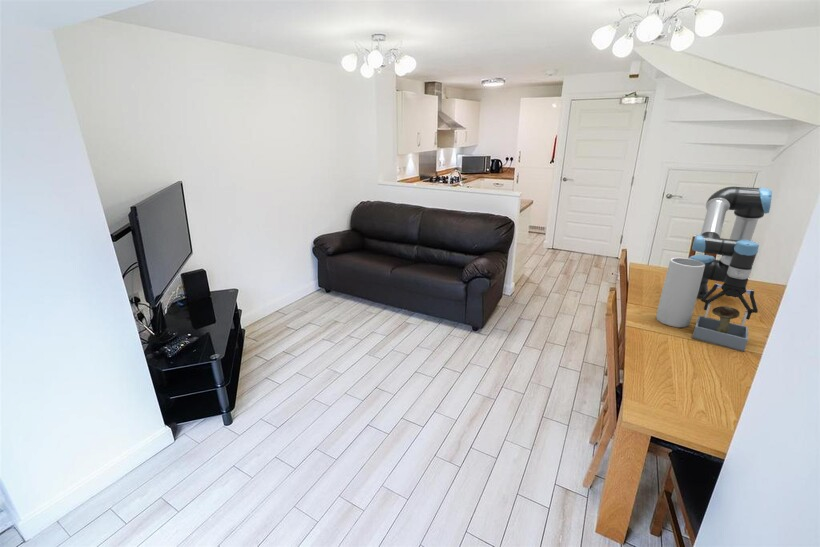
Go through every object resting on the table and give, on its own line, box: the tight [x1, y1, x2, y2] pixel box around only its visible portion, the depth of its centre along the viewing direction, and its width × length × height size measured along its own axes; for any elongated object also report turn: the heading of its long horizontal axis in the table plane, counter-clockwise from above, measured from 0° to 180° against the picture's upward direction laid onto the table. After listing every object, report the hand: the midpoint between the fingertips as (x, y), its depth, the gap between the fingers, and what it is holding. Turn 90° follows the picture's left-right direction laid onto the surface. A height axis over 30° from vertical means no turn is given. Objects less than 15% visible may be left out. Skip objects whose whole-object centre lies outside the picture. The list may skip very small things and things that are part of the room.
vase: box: [655, 257, 705, 328], centre depth 187 cm, size 14×14×32 cm
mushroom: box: [712, 305, 740, 333], centre depth 174 cm, size 9×9×15 cm
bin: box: [691, 315, 749, 353], centre depth 176 cm, size 15×19×6 cm
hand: (723, 320), depth 174 cm, fingers open, 12 cm apart
